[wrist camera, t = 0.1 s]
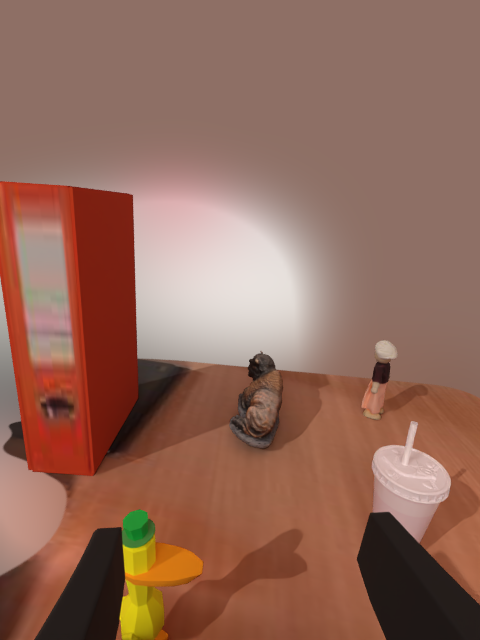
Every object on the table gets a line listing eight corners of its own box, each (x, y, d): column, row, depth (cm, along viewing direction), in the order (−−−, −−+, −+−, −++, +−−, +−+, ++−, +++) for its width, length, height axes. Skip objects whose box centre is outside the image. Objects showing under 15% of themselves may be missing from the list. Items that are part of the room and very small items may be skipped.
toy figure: (203, 626, 27) (207, 503, 23) (195, 686, 24) (198, 553, 20) (118, 616, 27) (108, 493, 24) (97, 674, 24) (82, 541, 20)
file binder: (140, 399, 58) (132, 193, 48) (97, 475, 41) (72, 185, 31) (91, 396, 58) (74, 190, 48) (28, 471, 41) (-18, 180, 31)
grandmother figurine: (362, 399, 61) (375, 332, 57) (386, 405, 60) (400, 336, 56) (357, 422, 55) (370, 347, 51) (383, 429, 53) (399, 352, 49)
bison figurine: (278, 458, 46) (286, 390, 43) (225, 452, 46) (228, 384, 43) (279, 409, 57) (285, 352, 54) (236, 404, 58) (240, 348, 55)
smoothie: (364, 510, 38) (387, 398, 34) (429, 540, 35) (464, 420, 31) (349, 557, 33) (375, 430, 29) (425, 596, 30) (466, 461, 26)
